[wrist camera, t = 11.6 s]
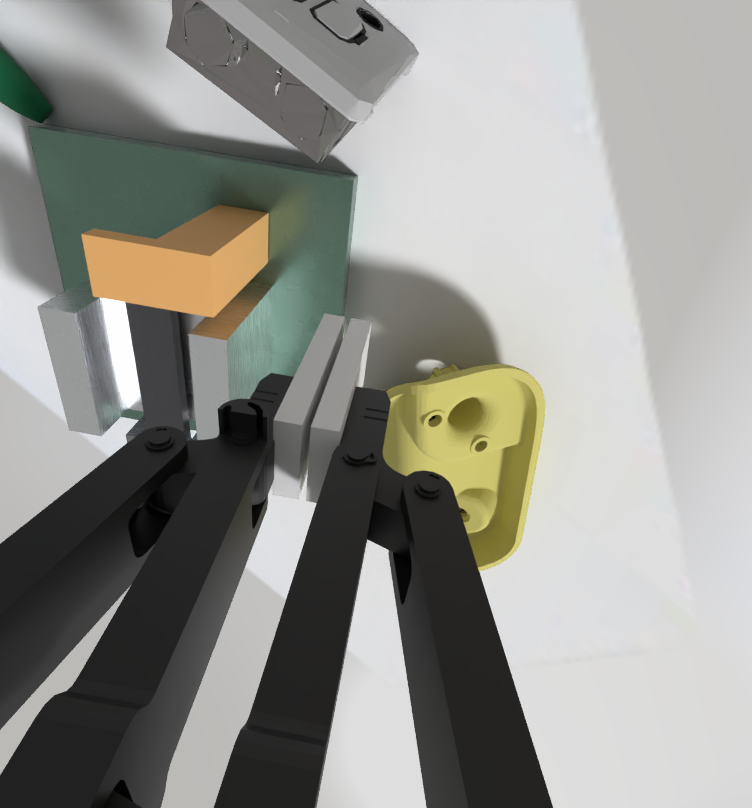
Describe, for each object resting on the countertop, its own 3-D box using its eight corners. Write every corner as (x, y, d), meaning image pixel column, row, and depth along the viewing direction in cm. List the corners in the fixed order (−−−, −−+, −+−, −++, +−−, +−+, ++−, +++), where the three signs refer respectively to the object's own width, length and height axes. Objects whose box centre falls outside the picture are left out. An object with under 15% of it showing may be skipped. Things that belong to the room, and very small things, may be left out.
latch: (169, 196, 30) (81, 234, 23) (268, 212, 30) (210, 256, 23) (174, 246, 32) (93, 296, 25) (267, 262, 32) (213, 318, 24)
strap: (123, 236, 26) (113, 242, 25) (172, 245, 26) (163, 251, 25) (155, 439, 34) (148, 448, 33) (193, 446, 34) (186, 456, 33)
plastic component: (518, 558, 42) (405, 596, 40) (476, 496, 48) (375, 526, 45) (558, 353, 30) (400, 391, 28) (495, 302, 36) (360, 330, 33)
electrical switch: (423, 51, 26) (396, 66, 19) (368, 141, 29) (327, 183, 22) (267, -86, 24) (168, -130, 17) (225, 26, 27) (126, 30, 20)
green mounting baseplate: (45, 124, 30) (-99, 141, 22) (358, 176, 30) (323, 213, 22) (102, 401, 41) (19, 477, 33) (330, 443, 41) (301, 531, 33)
